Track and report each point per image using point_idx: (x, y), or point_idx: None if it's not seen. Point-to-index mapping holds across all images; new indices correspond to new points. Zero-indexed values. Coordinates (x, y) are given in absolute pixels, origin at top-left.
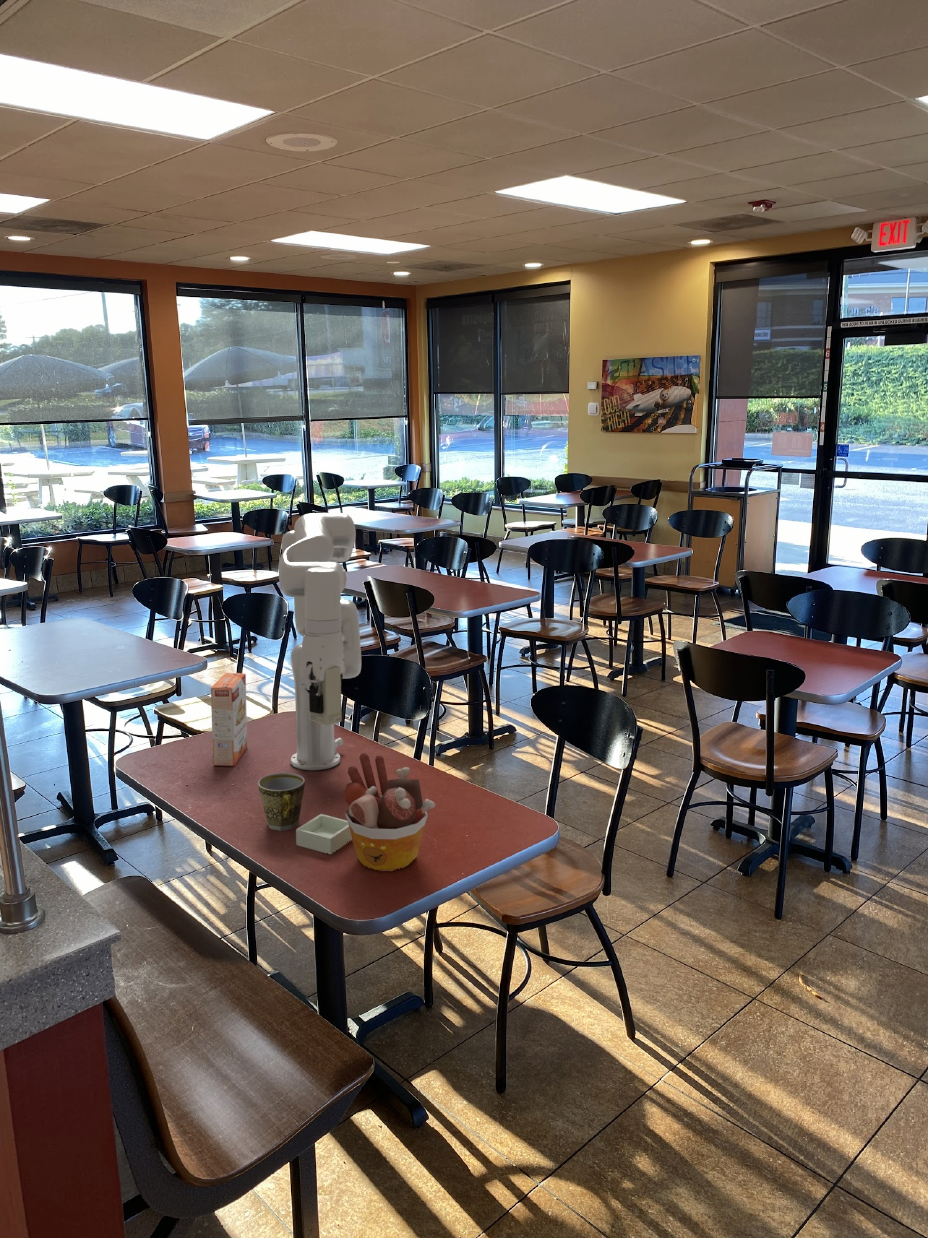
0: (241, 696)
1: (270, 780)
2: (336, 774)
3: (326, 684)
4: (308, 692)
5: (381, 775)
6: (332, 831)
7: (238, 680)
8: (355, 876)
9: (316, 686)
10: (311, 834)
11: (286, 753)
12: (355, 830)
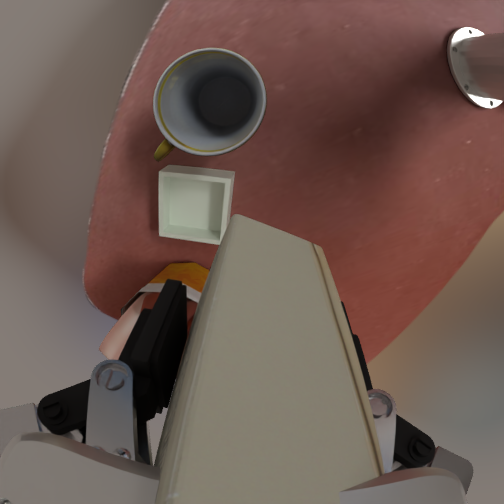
0: None
1: (233, 57)
2: (449, 112)
3: None
4: (86, 382)
5: None
6: (218, 202)
7: None
8: (141, 272)
9: (164, 430)
10: (159, 201)
11: (483, 18)
12: (128, 304)
